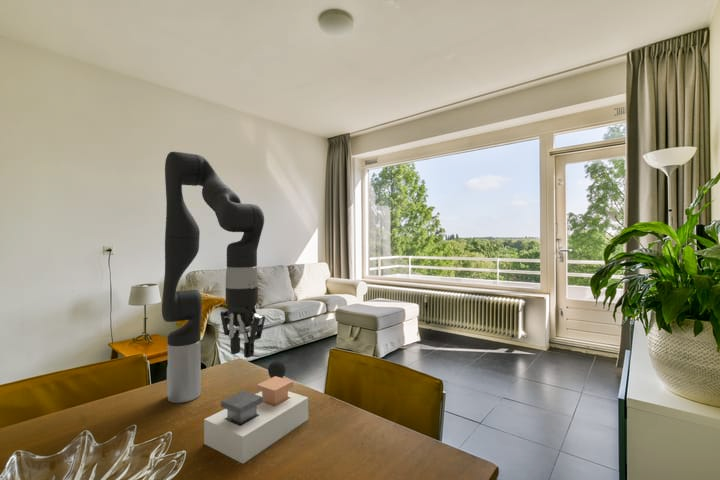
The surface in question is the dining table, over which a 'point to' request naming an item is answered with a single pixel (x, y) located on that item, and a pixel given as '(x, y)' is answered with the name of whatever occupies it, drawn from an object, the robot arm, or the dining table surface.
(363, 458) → the dining table surface
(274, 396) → the terracotta plunger
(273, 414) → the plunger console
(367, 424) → the dining table surface
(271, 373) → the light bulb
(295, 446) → the dining table surface
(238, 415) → the graphite plunger
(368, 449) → the dining table surface
